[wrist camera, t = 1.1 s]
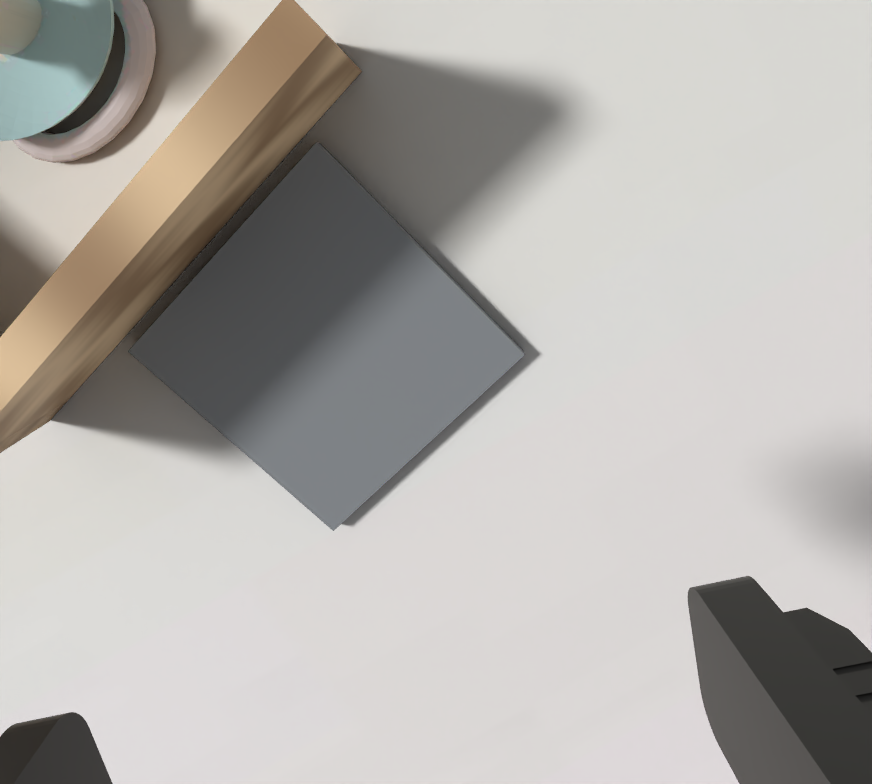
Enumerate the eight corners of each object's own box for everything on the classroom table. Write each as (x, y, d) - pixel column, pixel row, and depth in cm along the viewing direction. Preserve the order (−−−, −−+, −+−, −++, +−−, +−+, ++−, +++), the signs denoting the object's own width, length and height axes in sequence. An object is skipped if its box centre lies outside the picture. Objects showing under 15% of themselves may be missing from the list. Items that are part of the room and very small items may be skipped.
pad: (319, 142, 24) (316, 142, 23) (523, 350, 26) (524, 354, 25) (134, 347, 26) (128, 351, 26) (335, 523, 28) (333, 530, 28)
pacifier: (203, 35, 23) (47, -115, 22) (126, -2, 17) (-96, -211, 16) (75, 203, 25) (-78, 74, 24) (-36, 222, 19) (-249, 51, 18)
